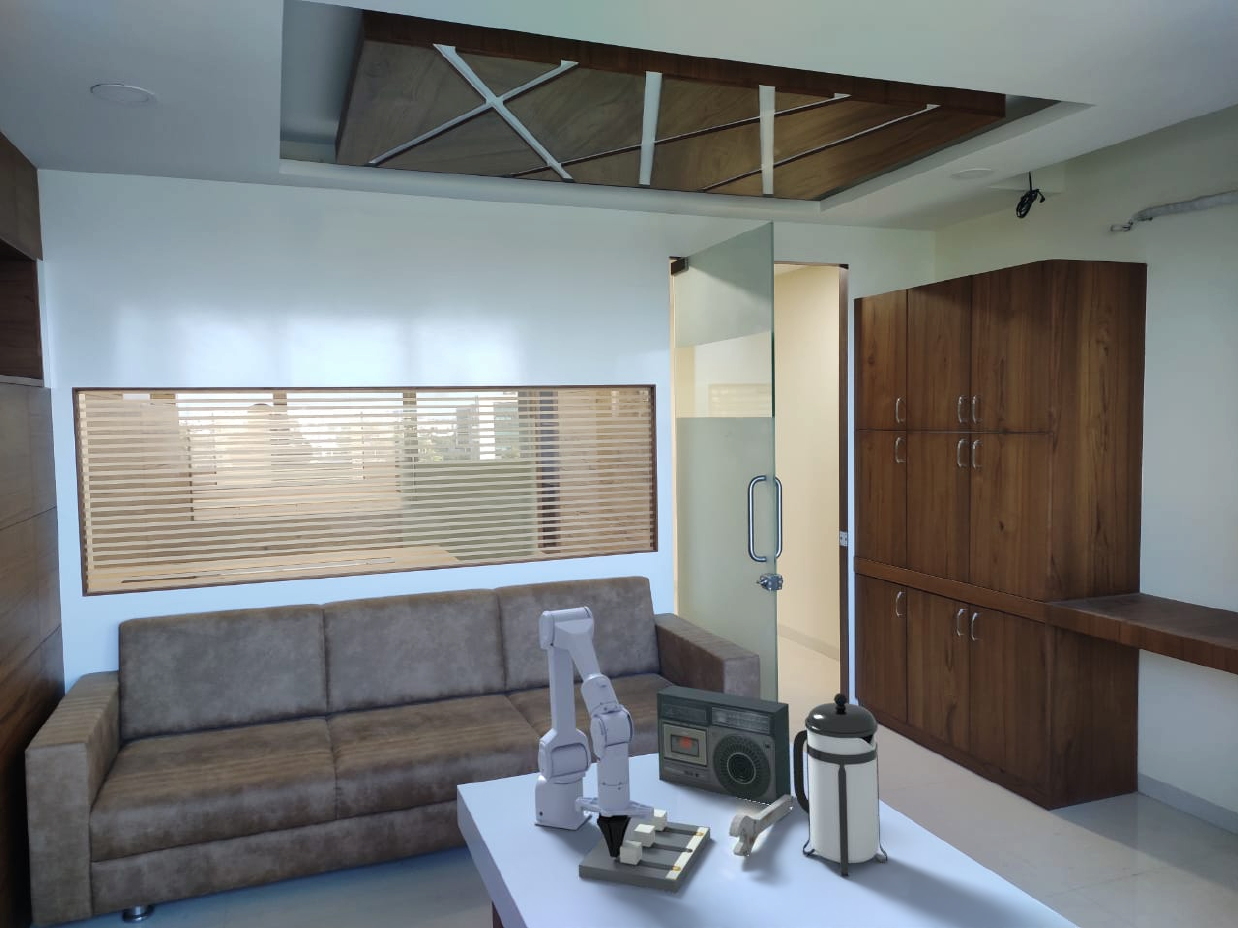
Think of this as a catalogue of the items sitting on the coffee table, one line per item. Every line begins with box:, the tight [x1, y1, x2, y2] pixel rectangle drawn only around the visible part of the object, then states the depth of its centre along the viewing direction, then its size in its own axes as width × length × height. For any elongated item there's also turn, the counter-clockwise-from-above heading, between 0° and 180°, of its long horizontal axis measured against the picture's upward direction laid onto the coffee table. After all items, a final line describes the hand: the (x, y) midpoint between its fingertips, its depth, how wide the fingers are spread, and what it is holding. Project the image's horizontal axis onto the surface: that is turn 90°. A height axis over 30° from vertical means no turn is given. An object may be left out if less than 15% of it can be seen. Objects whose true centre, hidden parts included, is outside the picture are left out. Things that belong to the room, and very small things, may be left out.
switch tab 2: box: [647, 808, 668, 831], centre depth 164 cm, size 3×3×3 cm
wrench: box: [728, 794, 796, 857], centre depth 165 cm, size 8×2×30 cm
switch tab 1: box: [620, 840, 642, 865], centre depth 151 cm, size 3×3×3 cm
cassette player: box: [656, 685, 792, 805], centre depth 188 cm, size 29×7×20 cm, turn 55°
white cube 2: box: [634, 824, 655, 847], centre depth 158 cm, size 3×3×3 cm
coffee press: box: [792, 692, 888, 877], centre depth 155 cm, size 17×16×30 cm
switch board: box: [578, 818, 711, 894], centre depth 158 cm, size 18×22×2 cm
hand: (615, 854), depth 153 cm, fingers closed
